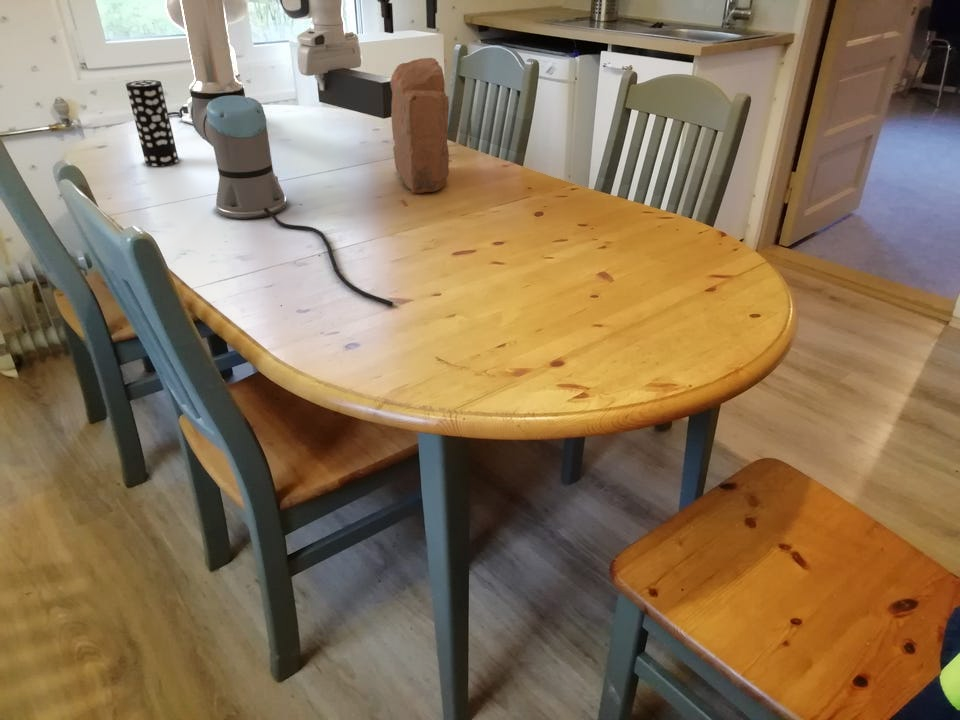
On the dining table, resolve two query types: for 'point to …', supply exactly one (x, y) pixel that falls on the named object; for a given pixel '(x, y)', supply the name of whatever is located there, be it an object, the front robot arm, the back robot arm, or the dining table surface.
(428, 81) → the stone
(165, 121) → the black white spotted cylinder
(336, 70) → the bar
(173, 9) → the back robot arm
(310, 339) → the dining table surface
